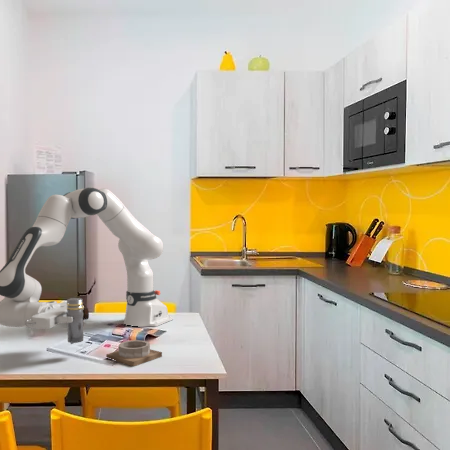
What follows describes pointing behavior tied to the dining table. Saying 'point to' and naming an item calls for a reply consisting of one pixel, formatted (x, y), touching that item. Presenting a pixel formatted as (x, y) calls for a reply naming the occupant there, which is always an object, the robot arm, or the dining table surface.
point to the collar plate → (134, 360)
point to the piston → (75, 320)
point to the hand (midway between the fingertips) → (77, 317)
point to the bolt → (85, 313)
